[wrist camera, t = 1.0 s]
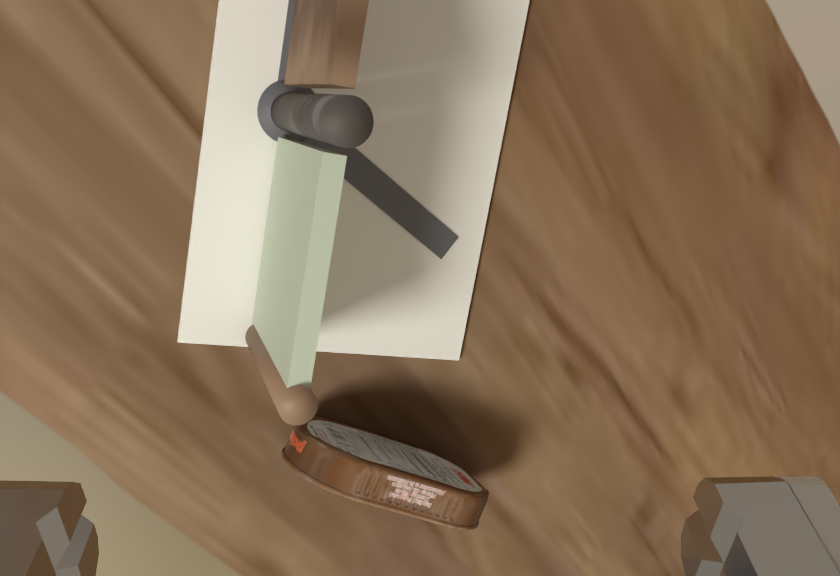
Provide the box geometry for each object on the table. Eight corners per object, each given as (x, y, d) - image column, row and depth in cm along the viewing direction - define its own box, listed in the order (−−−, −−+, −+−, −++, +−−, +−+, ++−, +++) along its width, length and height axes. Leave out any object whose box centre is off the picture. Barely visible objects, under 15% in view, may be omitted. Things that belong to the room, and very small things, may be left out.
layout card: (229, -87, 44) (230, -88, 44) (527, -4, 52) (531, -5, 51) (177, 340, 49) (177, 342, 49) (456, 358, 57) (459, 360, 56)
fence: (298, -90, 45) (365, -159, 32) (337, -79, 46) (417, -142, 33) (267, 128, 47) (319, 143, 35) (305, 134, 48) (369, 152, 36)
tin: (269, 436, 53) (293, 495, 45) (288, 396, 53) (315, 448, 45) (446, 489, 59) (494, 549, 52) (464, 453, 59) (514, 508, 51)
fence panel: (271, 135, 47) (317, 151, 36) (303, 141, 48) (357, 158, 36) (242, 347, 50) (276, 425, 38) (272, 349, 50) (314, 425, 39)
